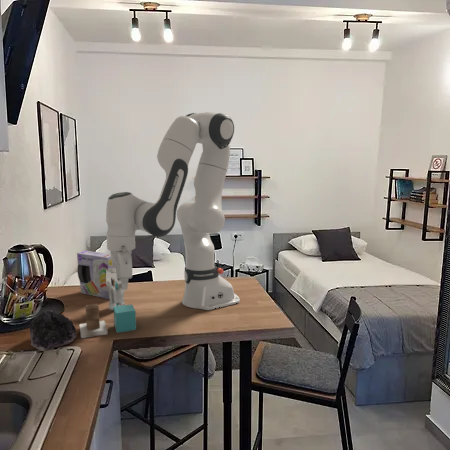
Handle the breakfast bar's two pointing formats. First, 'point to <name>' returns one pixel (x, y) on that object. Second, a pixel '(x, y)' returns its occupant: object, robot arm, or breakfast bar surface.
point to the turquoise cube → (124, 318)
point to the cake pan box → (93, 272)
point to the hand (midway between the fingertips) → (122, 284)
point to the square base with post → (92, 323)
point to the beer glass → (114, 289)
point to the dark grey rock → (51, 330)
